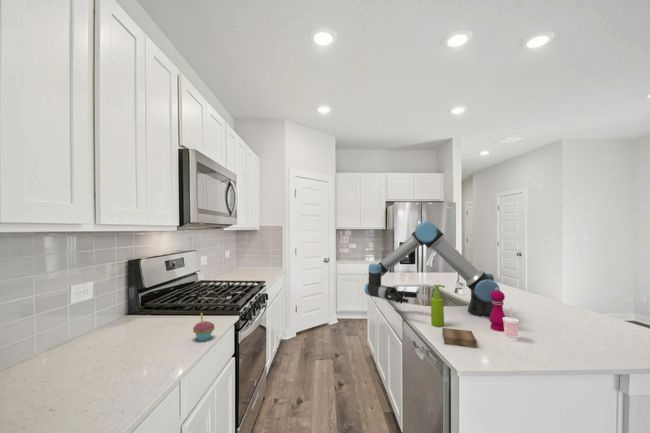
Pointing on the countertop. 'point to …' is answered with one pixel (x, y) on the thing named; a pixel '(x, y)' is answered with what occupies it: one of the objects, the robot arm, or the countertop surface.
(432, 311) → the soap dispenser
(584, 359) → the countertop surface
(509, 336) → the beverage cup
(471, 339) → the plinth
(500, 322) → the pepper mill
